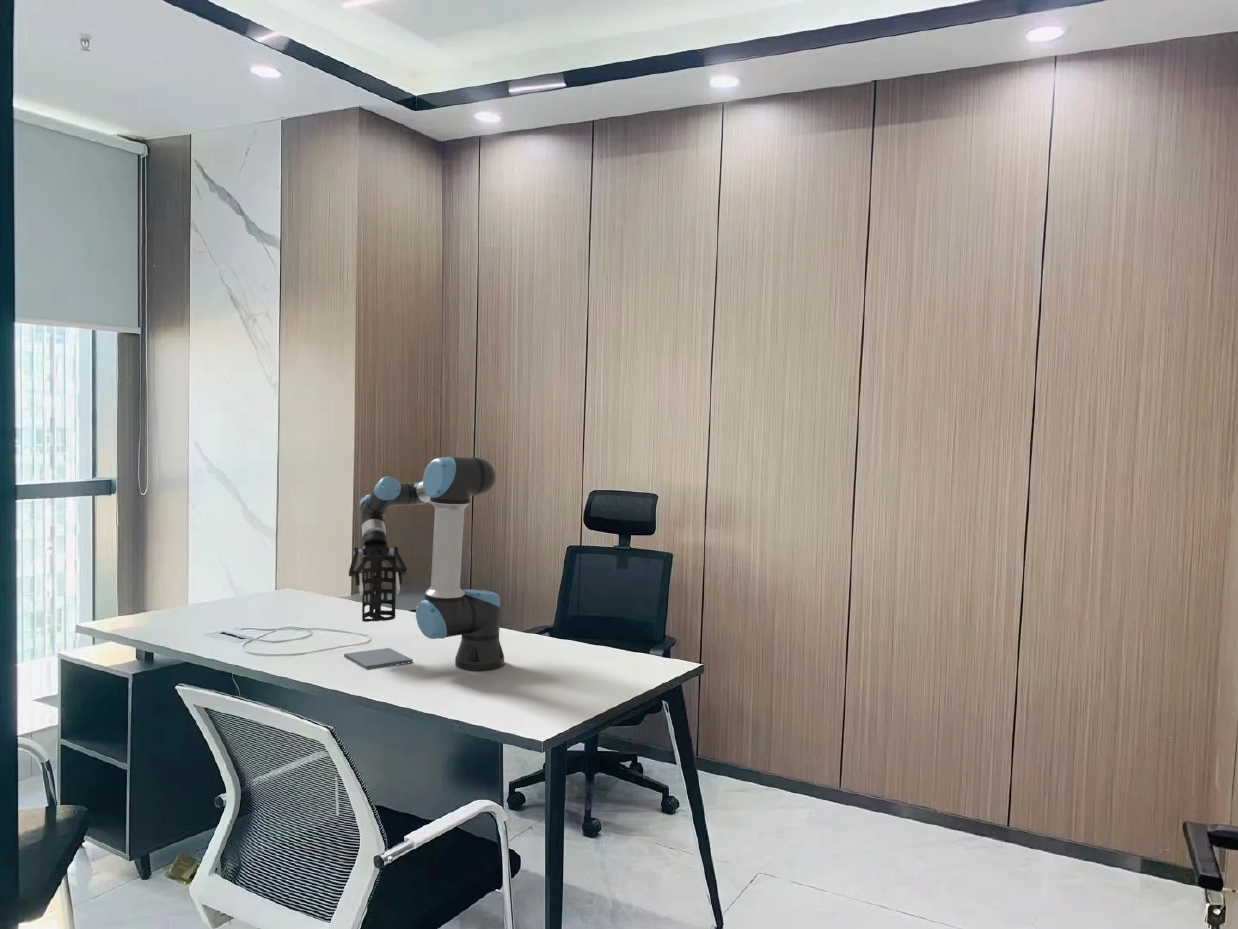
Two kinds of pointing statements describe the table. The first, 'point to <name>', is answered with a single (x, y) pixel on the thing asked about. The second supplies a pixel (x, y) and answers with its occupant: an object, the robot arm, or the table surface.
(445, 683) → the table surface
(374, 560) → the holder
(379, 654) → the mat
